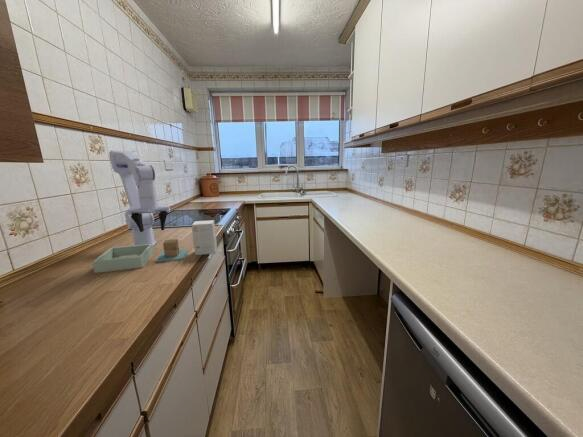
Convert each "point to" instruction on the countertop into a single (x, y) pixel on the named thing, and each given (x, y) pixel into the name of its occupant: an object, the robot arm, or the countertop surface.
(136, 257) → the crate
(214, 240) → the small box
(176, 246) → the walnut block
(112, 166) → the robot arm
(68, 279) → the countertop surface
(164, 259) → the teal mat
